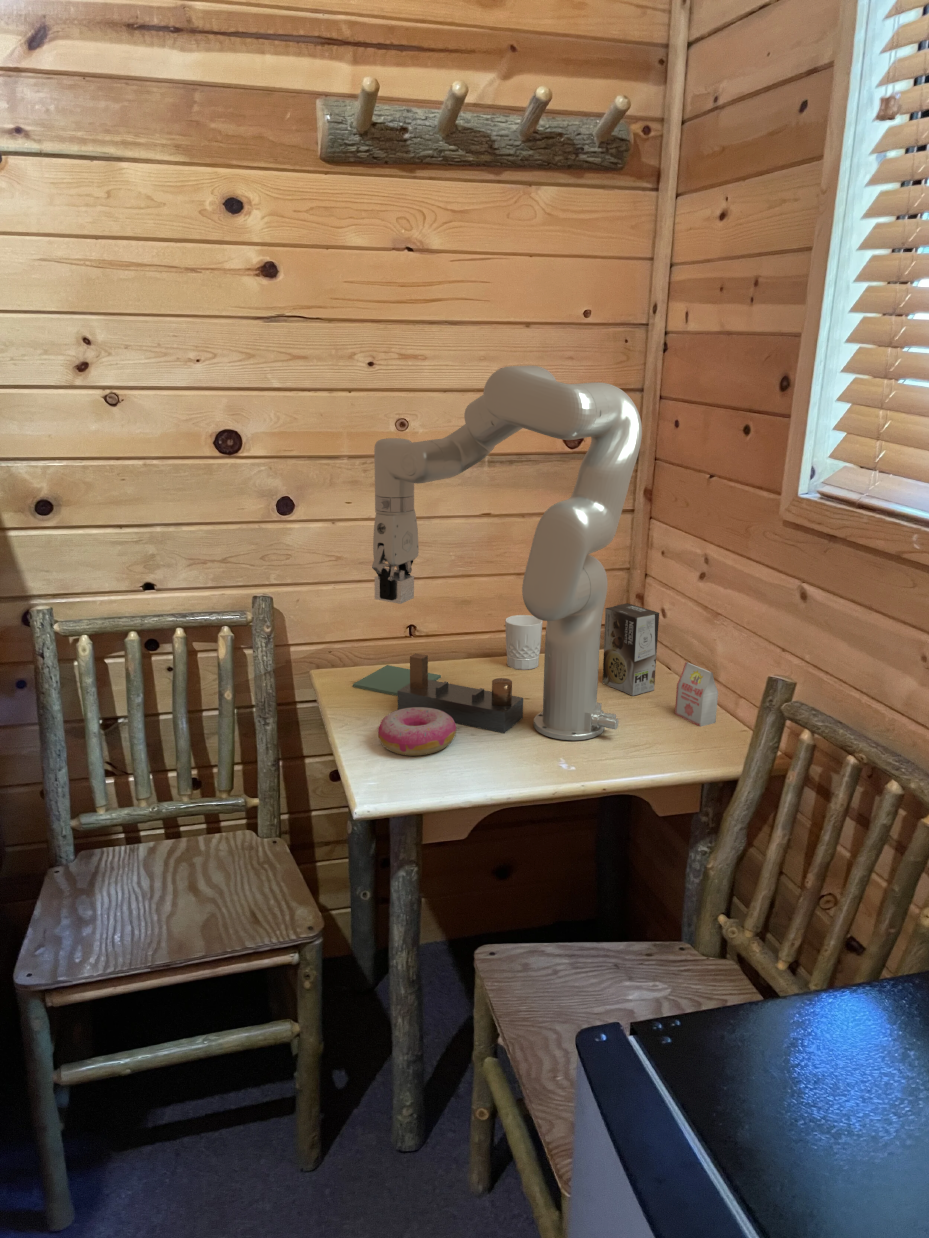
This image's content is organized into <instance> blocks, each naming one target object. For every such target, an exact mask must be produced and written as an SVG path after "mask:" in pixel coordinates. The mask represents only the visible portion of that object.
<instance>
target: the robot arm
mask: <svg viewBox="0 0 929 1238" xmlns="http://www.w3.org/2000/svg"><path fill="white" fill-rule="evenodd" d="M463 414H464V417H463V418H464V424H463V425H461V426H460V427H459V428H458V429H455V431H452V432H451V433H449V434H448V435H447V436H444V437H442V438H435V439H427V440H421V441H413V442H412V441H411V440H409V439H407V438H400V437H398V438H397V437H393V438H392V437H388V438H380V439H378V440H377V441H376V442H375V444H374V451H373V453H374V512H375V515H374V524H373V525H374V526H373V538H372V540H373V541H372V542H373V543H372V546H373V547H372V548H373V550H372V551H373V553H372V554H373V562H372V564H371V568H372V569H373V571H374V572H375V573H376V574H377V575H376V576H378V579H380V598H381V599H386V600H395V580H393V575H394V569H395V567H396V570H402V571H404V574H405V575H411V573H412V571H413V570H412V566H413V564H414V560H415V559H417V558H418V556H419V531H418V530H419V529H418V528H419V527H418V520H417V514H416V510H415V484H417V485H418V484H425V483H426V484H427V483H431V482H436V481H439V480H440V481H441V480H445V479H450V478H453V477H456V476H459V475H460V474H463V472H465V471H467V470H469V469H470V468H472V467H473V466H475V465H477V464H479V462H481V461H483V460H484V459H485V458H486V457H488V456H489V455H490V453H491V452H492V451H493V450H494V449H495V448H496V446H497V445H499V444H500V443H501V442H503V441H505V440H506V439H509V437H511V436H513V435H514V434H515V433H517V432H519V431H521V430H523V429H525V430H528V431H531V432H535V433H538V434H540V435H544V436H547V437H550V438H555V439H557V440H564V441H565V440H566V441H573V440H579V439H580V440H581V439H585V438H586V439H587V438H590V439H591V440H590V444H589V447H588V449H587V451H586V453H585V455H584V457H582V460H581V463H580V466H579V469H578V472H577V478H576V481H575V484H574V488H573V491H572V494H571V495H570V497H569V498H568V499H565V500H561V501H558V502H556V503H554V504H553V505H551V506H550V507H548V509H547V510H546V511H544V513H543V514H542V516H541V517H540V519H539V520H538V523H537V525H536V528H535V532H534V534H533V535H534V536H533V540H532V543H531V547H530V549H529V550H530V551H529V555H528V557H527V558H528V559H527V563H526V567H525V570H524V574H523V580H522V587H521V592H522V599H523V603H524V606H525V608H526V610H527V611H528V612H529V613H530V614H531V616H534V617H536V618H538V619H540V620H543V621H544V622H546V627H545V635H544V636H545V637H544V638H545V640H544V659H543V660H544V662H543V664H544V665H543V692H542V693H543V695H542V711H540V712H539V713H537V714H536V715H535V716H534V717H533V727H534V729H535V730H536V732H538V733H539V734H542V735H544V736H546V737H549V738H551V739H552V738H553V739H556V740H562V741H583V740H590V739H592V738H596V737H598V736H600V735H601V734H602V733H603V732H604V730H605V728H606V729H609V730H618V727H619V718H617V715H616V713H611V712H604V710H602V705H603V704H602V703H601V702H597V700H598V683H599V682H598V679H599V666H600V665H599V663H600V647H601V632H602V620H603V615H604V611H605V610H604V608H605V604H606V599H607V594H608V585H609V584H608V575H607V572H606V569H605V567H604V565H603V564H602V563H601V561H599V559H598V558H597V557H595V556H594V555H591V554H592V553H596V552H598V551H600V550H602V549H604V548H606V547H607V546H608V545H609V544H610V543H612V542H613V539H614V538H615V536H616V533H617V530H618V526H619V524H620V523H619V522H620V519H621V515H622V513H623V509H624V506H625V501H626V498H627V494H628V491H629V486H630V482H631V479H632V476H633V473H634V469H635V466H636V462H637V459H638V457H639V452H640V450H641V449H640V448H641V444H642V437H643V424H642V419H641V416H640V413H639V409H638V408H637V406H636V404H635V403H634V401H633V400H632V398H631V397H630V396H629V395H628V393H626V392H625V391H624V390H622V389H621V388H619V387H618V386H615V385H614V384H611V383H607V382H598V381H597V382H595V381H594V382H592V381H591V382H584V383H583V382H581V383H564V382H560V381H557V379H556V376H554V374H553V373H551V372H550V371H549V370H548V369H546V368H544V367H541V366H539V365H511V366H504V367H502V368H501V367H500V368H499V369H497V370H496V371H494V372H493V373H492V374H491V375H490V376H489V378H488V379H487V380H486V382H485V385H484V388H483V394H482V395H480V396H479V397H477V398H476V399H475V400H472V401H471V402H469V404H468V405H467V406H466V408H465V409H464V413H463ZM386 562H387V563H386ZM385 568H389V571H387V570H386V569H385Z"/></svg>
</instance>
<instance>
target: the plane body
mask: <svg viewBox="0 0 929 1238" xmlns="http://www.w3.org/2000/svg"><path fill="white" fill-rule="evenodd" d="M428 659H429V656H428V655H427V654H421V653H413V654H412V655H409V669H410V684H408V685H406V686H405V687H403V688H401V689H400V690H398V691H397V693H398V696H397V710H400V709H404V708H413V707H424V708H433V709H437V710H441V711H443V712H445V713H447V714H448V715H450V716H451V717H452V718H453V720H454V722H455V724H456V725H457V724H458V725H464V726H466V727H467V726H468V727H472V728H476V729H482V730H487V731H490V732H491V731H492V732H496V733H501V734H505V733H507V732H508V731H509V730H510V729H512V728H513V727H514V726H516V724H518V723H519V722H520V721H521V720H522V719H523V718H524V696H522V697H521V696H516V695H513V680H511V679H510V678H505V677H498V678H493V679H492V680H491V690H490V691H489V690H485V688H481V687H480V688H476V687H475V688H473V687H470V686H463V685H459V684H455V683H449V681H444V682H443V681H439V680H437V681H434V680H428V673H429V666H428V665H429V660H428Z"/></svg>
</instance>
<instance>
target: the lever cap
mask: <svg viewBox="0 0 929 1238" xmlns="http://www.w3.org/2000/svg"><path fill="white" fill-rule="evenodd" d="M385 569H386V570H387V571H389V567H385ZM393 580H395V600H386V599H381V598H380V579H378V575H376V576H374V600H377V601H382V602H383V601H384V602H387V603H388V602H389V603H393V604H400V605H402V604H404V603H406V602H409V601H410V600H412V599H414V598H415V596H414V595H415V575H411V574H410V575H405V574H404V571H402V570H397V568H396V569H395V568H394V575H393Z"/></svg>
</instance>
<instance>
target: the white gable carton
mask: <svg viewBox="0 0 929 1238" xmlns="http://www.w3.org/2000/svg"><path fill="white" fill-rule="evenodd" d="M675 695H676V696H675V704H674V706H675V707H674V715H676V716H678V717H680V718H682V719H684V720H686V721H688V722H689V723H692V724H694V725H696V726H698V727H705V726H707V725H709V726H710V725H713V724H716V720H717V709H718V699H719V691H718V688H717V685H716V682H715V679H714V673H713V671H709V670H707V669H705V668H703V667H700V666H697V665H695V664H693V663H691V662H688V661H687V662H686V661H685V663H684V665H683V669H682V672H681V674H680V676H679V679H678V681H677V683H676V693H675Z"/></svg>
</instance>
